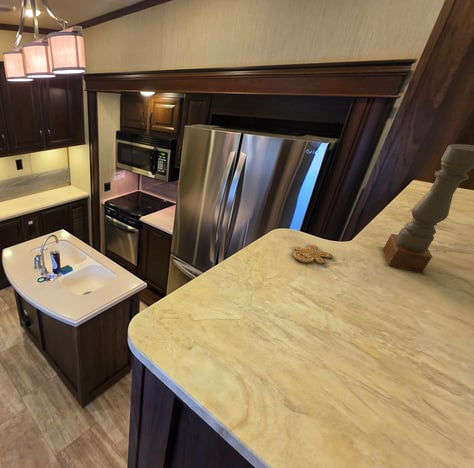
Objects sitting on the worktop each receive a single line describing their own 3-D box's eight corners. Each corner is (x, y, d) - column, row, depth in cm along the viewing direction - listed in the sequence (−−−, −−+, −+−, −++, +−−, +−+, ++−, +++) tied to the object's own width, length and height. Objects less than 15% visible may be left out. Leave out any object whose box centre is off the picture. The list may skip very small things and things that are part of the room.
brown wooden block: (413, 254, 79) (423, 239, 76) (422, 272, 73) (432, 256, 70) (383, 248, 82) (391, 233, 80) (388, 265, 76) (397, 249, 73)
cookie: (338, 256, 78) (312, 265, 75) (336, 259, 79) (310, 268, 76) (309, 241, 85) (284, 249, 82) (308, 244, 86) (283, 252, 83)
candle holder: (423, 241, 76) (482, 145, 63) (430, 253, 71) (495, 152, 58) (392, 236, 78) (442, 142, 66) (397, 247, 74) (452, 149, 61)
